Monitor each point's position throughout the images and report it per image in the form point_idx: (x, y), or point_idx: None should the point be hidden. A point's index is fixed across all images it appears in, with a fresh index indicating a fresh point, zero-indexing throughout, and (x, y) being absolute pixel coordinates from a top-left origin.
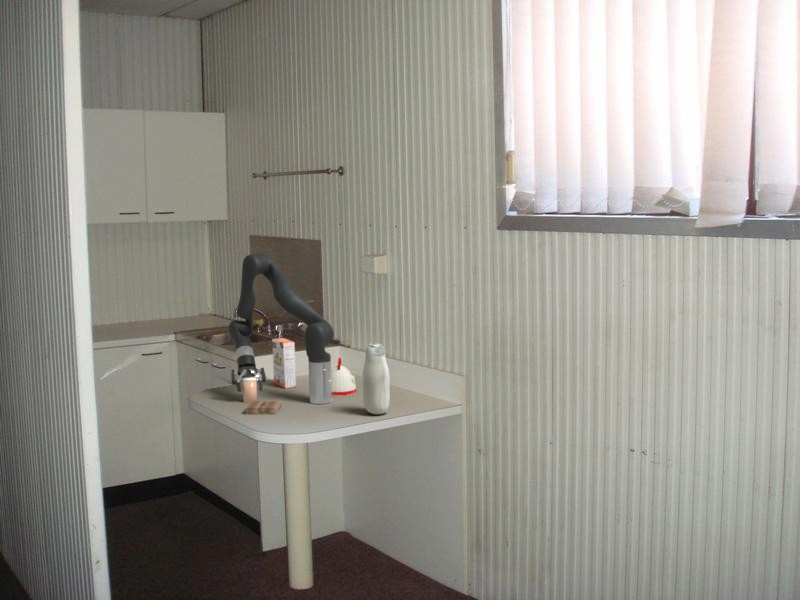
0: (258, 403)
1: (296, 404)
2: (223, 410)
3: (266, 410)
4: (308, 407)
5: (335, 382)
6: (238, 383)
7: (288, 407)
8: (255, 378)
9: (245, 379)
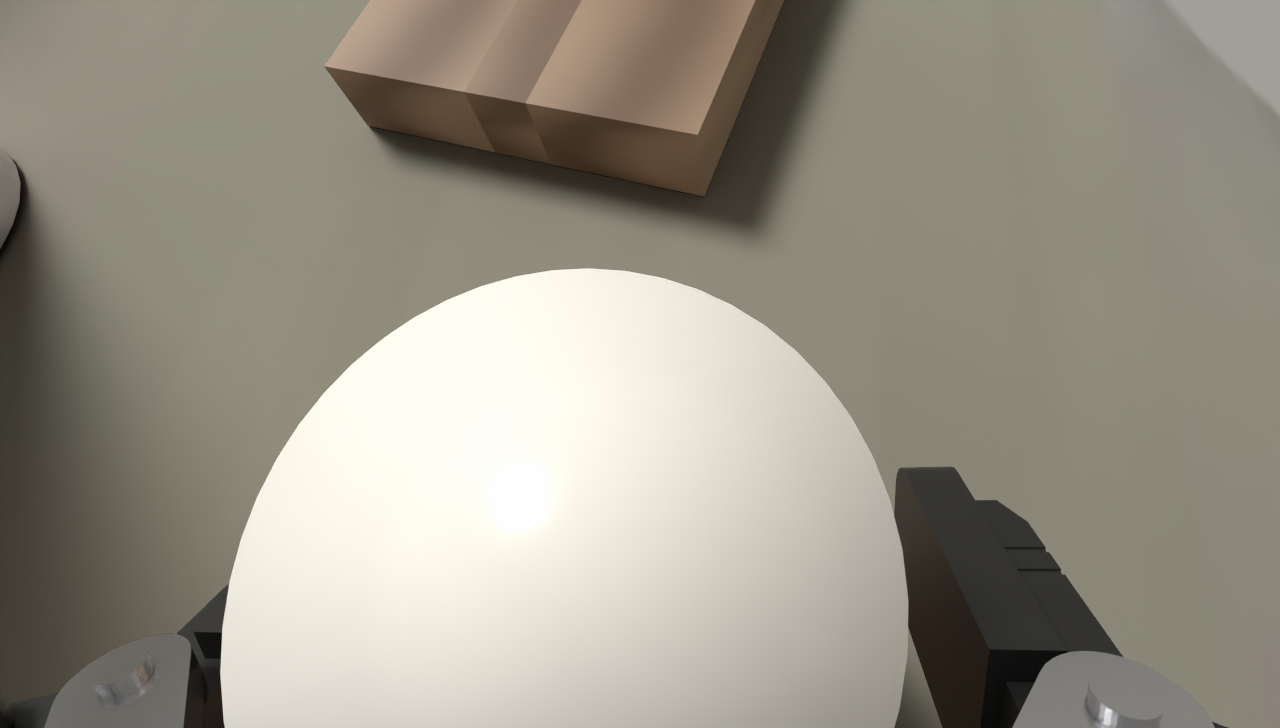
0: (627, 5)
1: (170, 204)
2: (1139, 127)
3: None
4: (146, 59)
5: None
6: (1046, 632)
7: (307, 98)
8: (340, 381)
9: (763, 325)
